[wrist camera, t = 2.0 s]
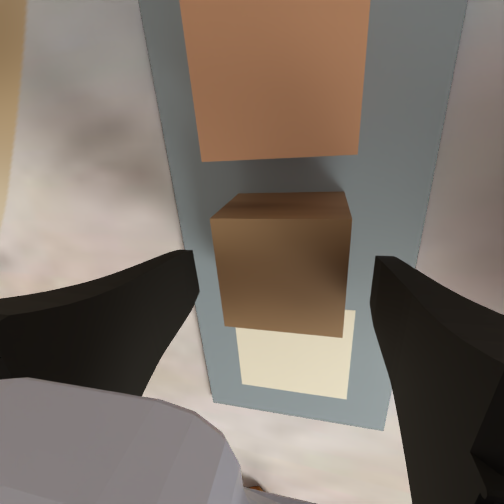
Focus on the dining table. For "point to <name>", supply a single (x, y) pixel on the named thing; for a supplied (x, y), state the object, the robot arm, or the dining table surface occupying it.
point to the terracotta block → (276, 76)
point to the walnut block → (284, 261)
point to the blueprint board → (317, 180)
